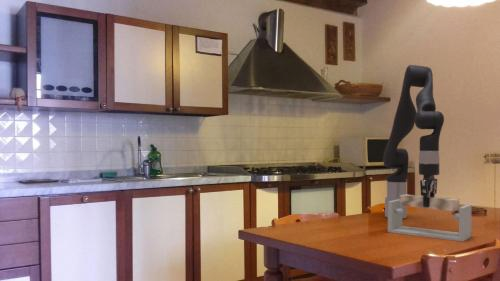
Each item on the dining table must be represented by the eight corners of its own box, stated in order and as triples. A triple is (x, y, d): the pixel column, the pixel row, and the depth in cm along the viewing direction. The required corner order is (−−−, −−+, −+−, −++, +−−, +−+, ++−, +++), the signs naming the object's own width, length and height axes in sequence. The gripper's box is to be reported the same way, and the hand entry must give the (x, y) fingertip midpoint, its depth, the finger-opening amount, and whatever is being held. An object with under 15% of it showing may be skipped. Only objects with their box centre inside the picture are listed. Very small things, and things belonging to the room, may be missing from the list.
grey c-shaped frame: (387, 232, 186) (387, 201, 186) (398, 228, 195) (398, 199, 196) (463, 241, 169) (463, 208, 169) (471, 236, 178) (471, 204, 179)
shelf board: (399, 205, 189) (399, 195, 189) (406, 204, 193) (406, 194, 193) (452, 211, 172) (452, 200, 172) (459, 210, 176) (459, 199, 176)
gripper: (425, 161, 191) (424, 203, 190) (413, 162, 179) (412, 207, 179) (444, 162, 186) (444, 205, 186) (433, 163, 175) (433, 208, 174)
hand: (428, 205), depth 182 cm, fingers closed on shelf board, 5 cm apart
